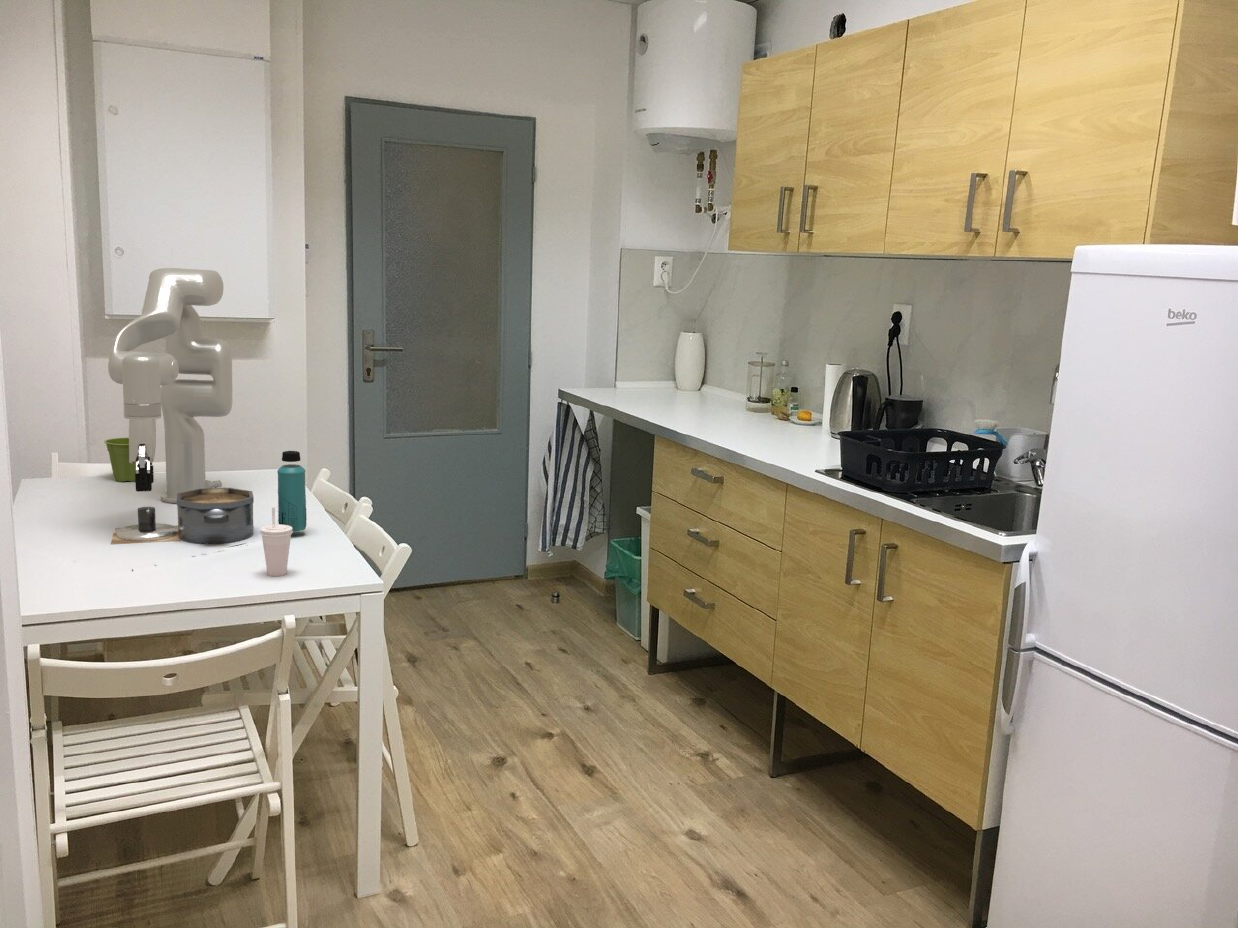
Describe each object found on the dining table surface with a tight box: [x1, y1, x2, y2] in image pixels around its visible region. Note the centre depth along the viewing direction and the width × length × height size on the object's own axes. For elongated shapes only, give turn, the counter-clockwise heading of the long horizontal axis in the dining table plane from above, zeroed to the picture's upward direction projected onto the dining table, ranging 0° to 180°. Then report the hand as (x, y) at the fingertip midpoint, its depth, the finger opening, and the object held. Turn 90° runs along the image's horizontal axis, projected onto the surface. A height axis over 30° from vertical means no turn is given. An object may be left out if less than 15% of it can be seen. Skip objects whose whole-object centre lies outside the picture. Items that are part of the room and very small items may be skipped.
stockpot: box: [176, 487, 255, 548], centre depth 232 cm, size 21×16×10 cm
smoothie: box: [259, 506, 294, 577], centre depth 209 cm, size 6×6×14 cm
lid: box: [117, 506, 177, 542], centre depth 230 cm, size 12×12×6 cm
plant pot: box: [103, 437, 136, 483], centre depth 287 cm, size 12×12×11 cm
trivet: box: [110, 525, 182, 545], centre depth 230 cm, size 14×14×1 cm
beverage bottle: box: [277, 450, 308, 533], centre depth 238 cm, size 6×7×20 cm
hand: (144, 486), depth 228 cm, fingers open, 9 cm apart
